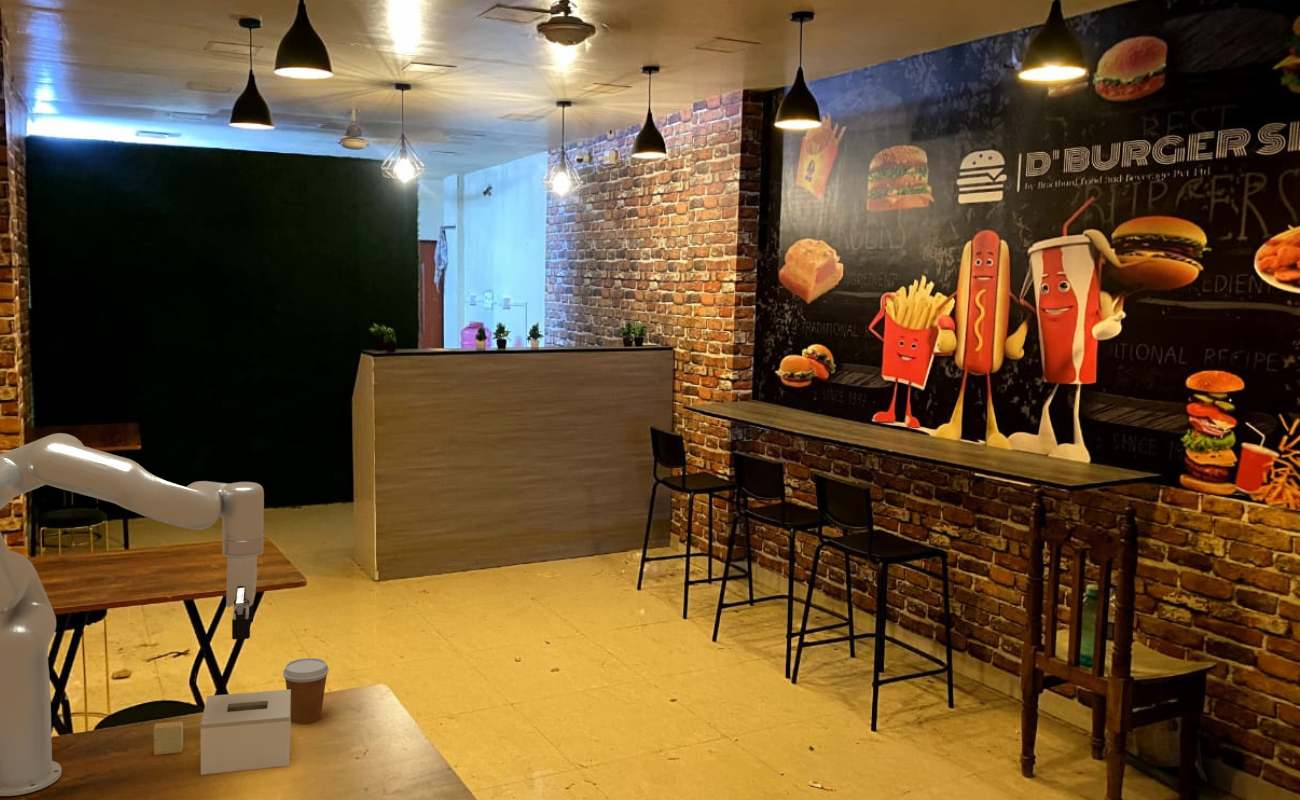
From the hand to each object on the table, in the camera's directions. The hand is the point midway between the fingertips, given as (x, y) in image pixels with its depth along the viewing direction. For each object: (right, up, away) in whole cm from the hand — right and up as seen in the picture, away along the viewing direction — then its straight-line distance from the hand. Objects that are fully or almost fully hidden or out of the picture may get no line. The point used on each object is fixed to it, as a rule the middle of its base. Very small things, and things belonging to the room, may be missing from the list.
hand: (243, 630), depth 202 cm
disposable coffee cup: (+6, -24, +20) cm, 32 cm away
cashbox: (0, -26, +3) cm, 26 cm away
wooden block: (-16, -25, +3) cm, 30 cm away
